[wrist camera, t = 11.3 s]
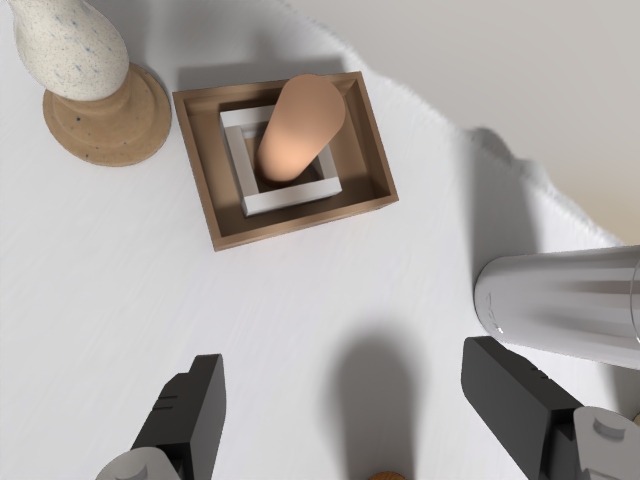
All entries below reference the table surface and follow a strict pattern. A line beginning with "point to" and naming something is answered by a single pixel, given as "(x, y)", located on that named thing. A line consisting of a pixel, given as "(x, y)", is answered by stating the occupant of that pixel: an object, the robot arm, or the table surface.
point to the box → (307, 189)
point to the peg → (298, 129)
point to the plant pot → (637, 420)
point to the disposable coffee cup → (387, 476)
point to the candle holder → (90, 83)
